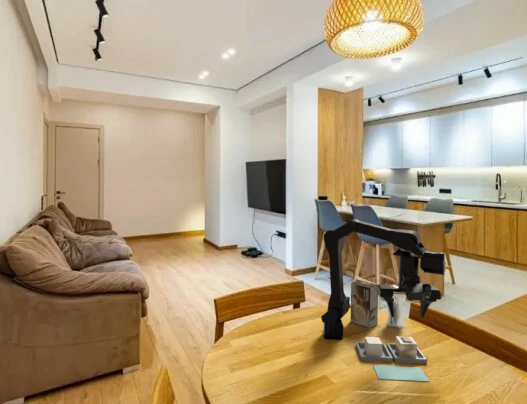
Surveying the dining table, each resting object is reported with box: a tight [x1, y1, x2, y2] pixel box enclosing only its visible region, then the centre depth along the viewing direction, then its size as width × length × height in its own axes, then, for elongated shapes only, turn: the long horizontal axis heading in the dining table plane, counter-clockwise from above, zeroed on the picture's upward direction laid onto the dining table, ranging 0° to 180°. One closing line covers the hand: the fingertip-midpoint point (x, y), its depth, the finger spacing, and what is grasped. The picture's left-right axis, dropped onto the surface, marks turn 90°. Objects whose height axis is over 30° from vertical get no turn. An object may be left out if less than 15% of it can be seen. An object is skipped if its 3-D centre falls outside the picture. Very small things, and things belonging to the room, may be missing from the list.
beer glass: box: [386, 284, 407, 329], centre depth 134 cm, size 7×7×15 cm
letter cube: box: [395, 335, 418, 358], centre depth 111 cm, size 5×5×5 cm
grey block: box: [364, 336, 383, 356], centre depth 112 cm, size 4×4×4 cm
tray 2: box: [386, 342, 428, 365], centre depth 111 cm, size 10×10×2 cm
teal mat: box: [372, 364, 430, 383], centre depth 101 cm, size 14×7×1 cm, turn 85°
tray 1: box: [355, 341, 394, 363], centre depth 112 cm, size 10×10×2 cm
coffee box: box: [350, 279, 379, 329], centre depth 136 cm, size 9×6×16 cm
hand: (407, 317), depth 110 cm, fingers open, 9 cm apart
